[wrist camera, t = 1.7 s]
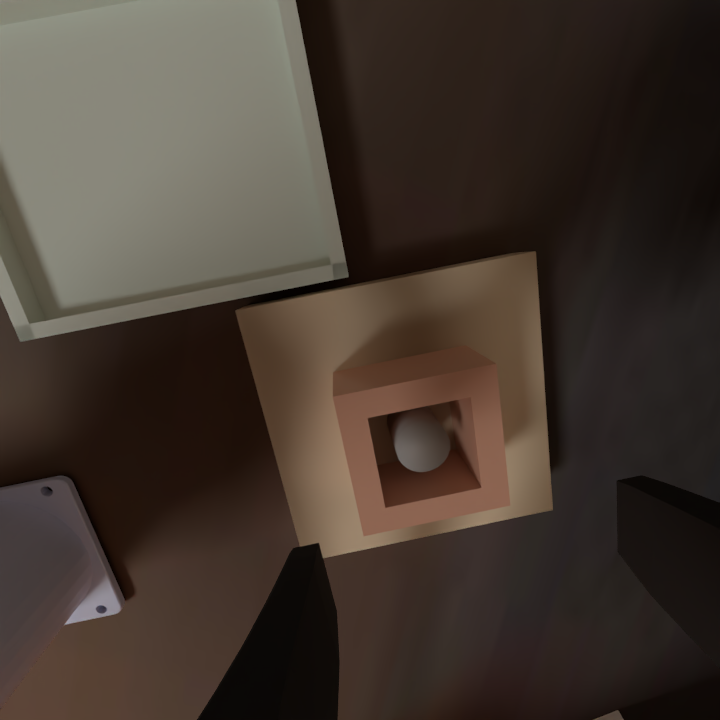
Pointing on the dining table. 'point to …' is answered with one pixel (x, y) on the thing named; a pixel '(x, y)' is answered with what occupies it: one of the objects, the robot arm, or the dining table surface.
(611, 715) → the milk
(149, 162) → the tray
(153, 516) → the dining table surface
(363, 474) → the ring
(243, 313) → the board
